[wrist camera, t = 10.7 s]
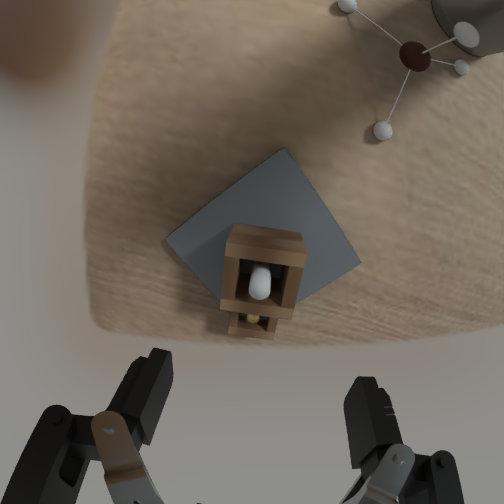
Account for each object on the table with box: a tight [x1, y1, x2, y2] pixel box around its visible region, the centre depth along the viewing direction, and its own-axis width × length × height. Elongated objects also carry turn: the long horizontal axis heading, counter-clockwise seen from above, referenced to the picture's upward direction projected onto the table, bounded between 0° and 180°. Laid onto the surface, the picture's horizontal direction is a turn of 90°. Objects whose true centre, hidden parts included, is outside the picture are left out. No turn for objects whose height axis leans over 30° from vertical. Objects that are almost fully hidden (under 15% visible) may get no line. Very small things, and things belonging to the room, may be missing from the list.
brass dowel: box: [247, 314, 260, 323], centre depth 28 cm, size 1×1×2 cm
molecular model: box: [338, 0, 479, 141], centre depth 14 cm, size 13×15×13 cm
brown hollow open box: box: [220, 223, 307, 340], centre depth 25 cm, size 6×11×5 cm, turn 172°
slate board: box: [165, 147, 362, 320], centre depth 24 cm, size 14×13×7 cm
